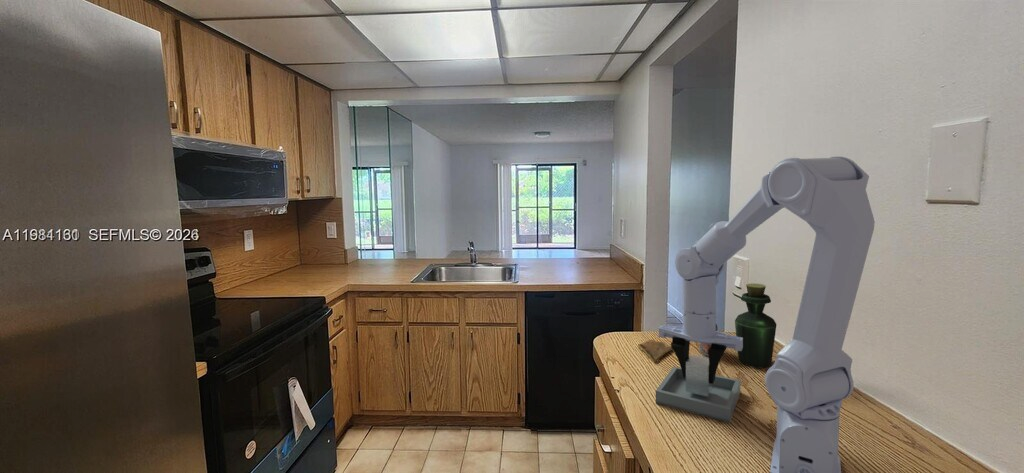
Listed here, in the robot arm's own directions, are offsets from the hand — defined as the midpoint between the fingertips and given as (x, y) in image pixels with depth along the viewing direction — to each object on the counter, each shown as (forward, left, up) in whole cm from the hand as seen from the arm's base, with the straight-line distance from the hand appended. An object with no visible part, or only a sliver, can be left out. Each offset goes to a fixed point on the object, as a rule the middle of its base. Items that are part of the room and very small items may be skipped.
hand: (698, 378), depth 78 cm
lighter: (+24, +3, -4) cm, 25 cm away
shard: (+18, +13, -5) cm, 23 cm away
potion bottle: (+23, -7, -4) cm, 24 cm away
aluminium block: (0, 0, -2) cm, 3 cm away
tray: (0, 0, -4) cm, 4 cm away
